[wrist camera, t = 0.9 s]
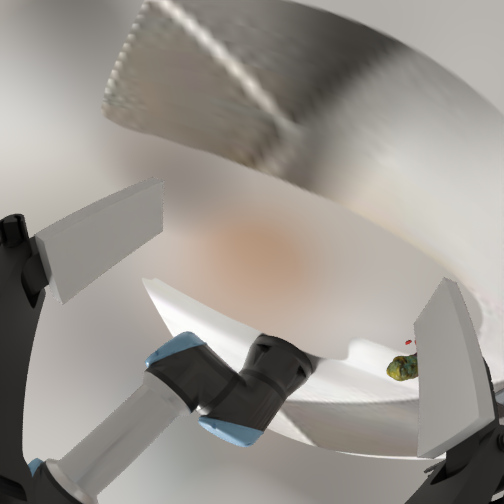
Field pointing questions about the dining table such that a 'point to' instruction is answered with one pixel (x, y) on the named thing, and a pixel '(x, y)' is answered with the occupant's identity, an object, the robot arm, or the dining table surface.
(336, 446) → the dining table surface
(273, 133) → the dining table surface
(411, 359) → the figurine
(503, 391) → the mat
